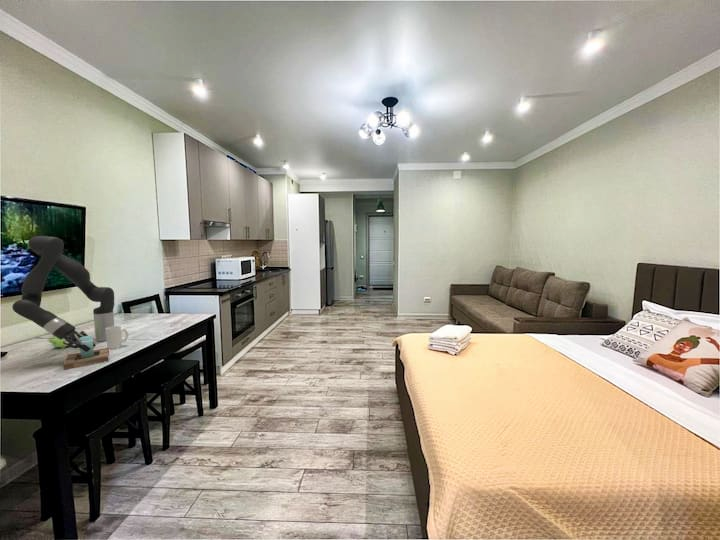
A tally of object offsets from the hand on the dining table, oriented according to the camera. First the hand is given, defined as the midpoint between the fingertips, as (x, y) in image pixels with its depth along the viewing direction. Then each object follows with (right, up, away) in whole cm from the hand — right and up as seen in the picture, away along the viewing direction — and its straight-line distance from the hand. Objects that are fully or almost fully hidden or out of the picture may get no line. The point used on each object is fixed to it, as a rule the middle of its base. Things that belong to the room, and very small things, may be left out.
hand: (91, 348), depth 146 cm
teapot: (-34, -4, +18) cm, 39 cm away
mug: (-2, -5, +18) cm, 19 cm away
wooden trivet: (-2, -6, 0) cm, 6 cm away
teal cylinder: (-2, -5, 0) cm, 5 cm away
